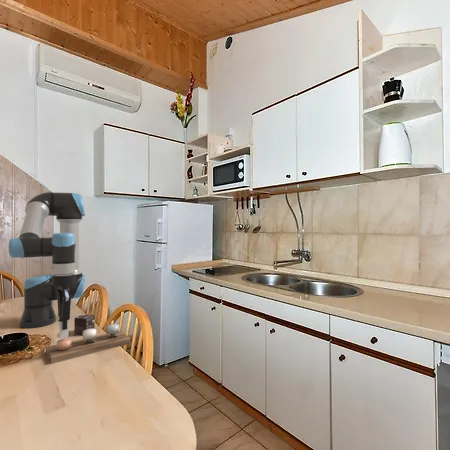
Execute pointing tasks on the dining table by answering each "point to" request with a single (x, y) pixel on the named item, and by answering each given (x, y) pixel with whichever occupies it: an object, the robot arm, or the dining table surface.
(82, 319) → the box
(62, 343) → the pink rounded piece
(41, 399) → the dining table surface
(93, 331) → the key ivory
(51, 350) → the panel
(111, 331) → the grey knob
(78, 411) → the dining table surface
